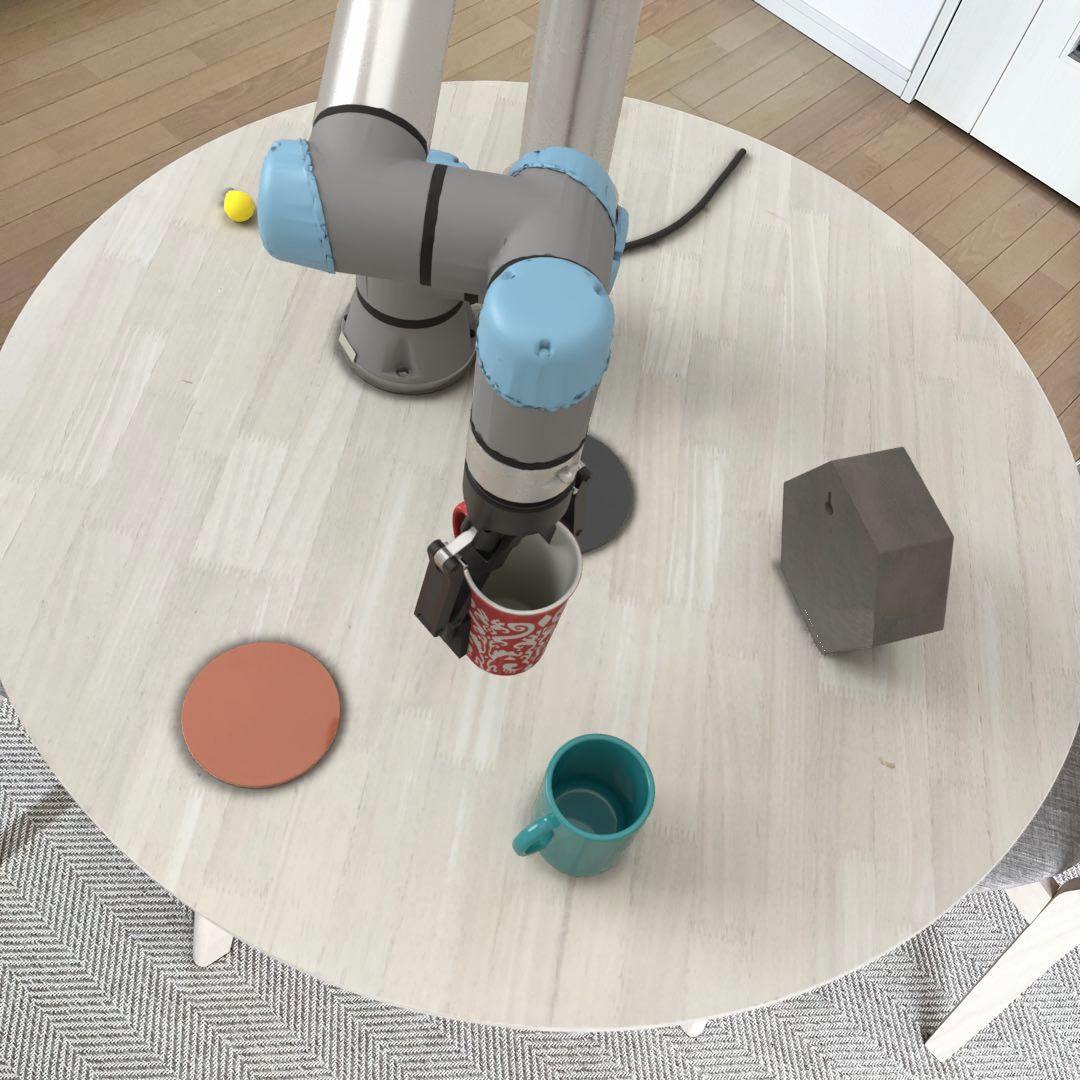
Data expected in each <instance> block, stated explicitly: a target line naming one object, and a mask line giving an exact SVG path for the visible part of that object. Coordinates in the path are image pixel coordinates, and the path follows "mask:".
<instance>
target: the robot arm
mask: <svg viewBox="0 0 1080 1080" xmlns="http://www.w3.org/2000/svg"><path fill="white" fill-rule="evenodd" d="M457 1H458V0H338V1H337V6H336V9H335V15H334V20H333V24H332V29H331V33H330V38H329V43H328V48H327V53H326V58H325V61H324V65H323V71H322V76H321V81H320V85H319V90H318V95H317V99H316V103H315V108H314V112H313V118H312V122H311V123H312V127H311V131H310V135H309V138H308V140H307V139H306V138H301V137H299V138H297V139H292V138H291V139H289V138H280V139H277V140H275V141H274V142H273V143H272V144H271V145H270V148H269V149H268V152H267V154H266V156H265V157H264V159H263V163H262V167H261V172H260V175H259V183H258V190H257V192H258V193H257V208H256V209H257V210H256V211H257V227H258V233H259V236H260V240H261V243H262V246H263V248H264V249H265V251H266V252H267V254H268V255H270V257H272V258H273V259H275V260H278V261H280V262H285V263H289V264H293V265H297V266H301V267H305V268H309V269H313V270H317V271H321V272H324V273H328V274H331V275H335V274H336V273H342V274H348V275H353V276H354V275H355V288H354V290H353V293H352V295H351V297H350V300H349V302H348V304H347V306H346V308H345V310H344V312H343V314H342V318H341V321H340V327H339V328H340V330H339V333H340V335H339V337H338V342H339V343H340V348H341V351H342V354H343V357H344V359H345V362H346V363H347V364H348V366H349V368H351V369H352V371H353V372H354V373H355V374H356V375H357V376H358V377H360V378H361V379H362V380H363V381H365V382H367V383H368V384H370V385H372V386H374V387H376V388H377V389H381V390H383V391H387V392H391V393H396V394H401V395H421V394H422V395H423V394H429V393H433V392H436V391H441V390H443V389H445V388H447V387H450V386H452V385H453V384H454V383H456V382H457V381H459V380H460V379H461V378H462V377H463V376H464V375H466V374H467V372H468V371H469V370H470V369H471V367H472V365H473V364H474V361H475V364H474V377H473V378H474V379H473V392H472V393H473V394H472V402H471V406H470V411H469V422H468V427H467V428H468V429H467V436H466V445H465V454H464V455H465V456H464V465H463V466H464V467H463V474H462V475H463V476H462V485H461V486H462V488H461V489H462V495H463V501H465V504H466V508H467V516H466V518H465V519H464V521H463V523H462V525H461V534H460V535H459V536H458V537H456V538H455V537H454V539H452V540H451V541H450V542H449V541H444V542H443V541H442V540H441V539H440V538H438V539H435V540H433V541H432V542H431V543H430V544H429V545H428V547H427V548H426V552H427V556H428V564H427V567H426V570H425V574H424V577H423V581H422V584H421V587H420V592H419V594H418V596H417V601H416V603H415V607H414V612H413V615H414V616H415V617H416V619H418V621H419V622H420V623H421V624H422V626H424V628H425V629H426V630H427V631H428V632H429V634H430V635H431V636H432V637H433V638H440V639H441V640H442V641H443V642H444V643H445V645H446V646H448V648H449V649H450V650H451V651H452V652H453V654H455V656H456V657H457V658H458V659H459V660H461V659H462V658H463V657H465V656H467V655H466V654H467V649H468V642H469V635H470V628H471V618H470V616H469V615H468V611H469V610H470V608H471V596H472V592H471V589H470V587H469V585H468V583H467V581H466V578H465V576H464V570H466V569H468V571H469V573H470V576H471V578H472V580H473V582H474V584H475V585H476V587H477V588H478V589H479V590H480V591H481V589H482V587H483V586H484V584H485V582H486V580H487V579H488V577H489V575H490V574H491V572H492V571H494V570H496V569H498V568H501V567H502V565H503V564H504V562H505V560H506V559H507V557H508V555H509V554H510V552H511V550H512V548H514V547H516V546H518V545H519V543H520V541H521V540H522V538H524V537H526V536H528V535H534V534H537V533H539V534H540V535H541V536H542V538H543V539H544V540H545V541H546V542H547V543H548V544H549V545H550V542H551V539H552V537H553V535H554V532H555V531H556V529H557V528H556V525H555V524H556V523H557V522H558V521H560V522H561V523H562V524H564V525H565V526H566V527H567V528H568V529H569V531H570V532H571V533H572V534H573V536H574V537H575V538H577V537H578V536H580V535H581V534H582V533H583V531H584V530H585V516H586V498H587V489H588V486H589V484H590V482H591V480H592V477H593V475H594V473H593V472H592V471H591V470H590V469H589V468H588V467H587V466H586V465H585V464H584V463H583V462H582V461H581V460H580V458H581V454H582V450H583V445H584V442H585V439H586V436H587V435H588V433H589V432H588V431H589V427H590V423H591V418H592V416H593V411H594V407H595V405H596V400H597V398H598V393H599V390H600V388H601V384H602V381H603V380H602V379H603V377H604V374H605V372H607V370H608V368H609V365H610V361H611V358H612V349H611V348H612V343H613V339H614V328H615V320H616V318H615V317H616V315H615V308H614V304H613V302H612V300H611V298H610V295H611V292H612V290H613V288H614V285H615V282H616V279H617V276H618V273H619V270H620V266H621V258H622V256H623V253H624V252H627V251H631V250H634V249H637V248H641V247H645V246H646V245H649V244H652V243H654V242H657V241H659V240H661V239H663V238H665V237H667V236H669V235H671V234H673V233H675V232H676V231H678V230H679V229H681V228H683V226H685V225H686V224H687V223H689V222H690V221H691V220H692V219H693V218H695V217H696V216H697V215H698V214H700V212H701V211H703V209H704V208H705V207H706V206H707V205H708V203H709V202H710V201H711V200H712V198H713V197H714V195H715V194H716V193H717V191H719V189H720V187H722V185H723V184H724V183H725V181H727V179H728V178H729V176H731V174H732V173H733V171H734V170H735V169H736V167H737V166H738V165H739V163H740V162H741V161H742V160H743V158H744V157H745V156H746V155H747V149H746V148H743V147H741V148H740V149H739V150H738V151H737V153H736V154H735V155H734V157H733V158H732V159H731V160H730V162H729V163H728V165H726V167H725V169H723V171H722V172H721V174H720V175H719V176H718V177H717V178H716V179H715V181H714V182H713V184H711V186H710V187H709V189H708V190H707V191H706V192H705V194H704V195H703V196H702V198H700V200H698V202H697V203H696V204H695V205H694V206H693V207H692V208H691V209H689V210H688V211H687V212H686V213H684V214H683V215H682V216H681V217H680V218H678V219H677V220H676V221H674V222H673V223H671V224H669V225H667V226H666V227H664V228H662V229H660V230H657V231H656V232H653V233H651V234H648V235H646V236H644V237H640V238H638V239H634V240H631V241H627V238H628V232H629V223H630V215H629V212H628V210H627V209H626V208H625V207H623V206H621V205H620V204H619V201H620V195H619V191H618V188H617V186H616V185H615V183H614V182H613V181H612V179H611V177H610V175H609V173H610V166H611V162H612V158H613V157H612V156H613V153H614V147H615V142H616V136H617V131H618V127H619V123H620V122H619V121H620V117H621V112H622V107H623V104H624V103H623V102H624V98H625V97H624V96H625V93H626V87H627V83H628V78H629V72H630V69H631V63H632V57H633V53H634V48H635V45H636V44H635V43H636V38H637V33H638V29H639V23H640V18H641V13H642V8H643V3H644V0H539V2H538V9H537V17H536V25H535V33H534V39H533V46H532V47H533V48H532V54H531V62H530V69H529V77H528V84H527V85H528V87H527V92H526V101H525V107H524V114H523V115H524V116H523V121H522V130H521V137H520V145H519V152H518V159H517V160H516V161H514V162H512V163H510V165H508V166H507V167H505V169H504V170H503V171H502V173H496V172H490V171H485V170H477V169H473V168H472V169H471V168H470V167H469V165H468V164H467V163H465V162H464V161H461V162H460V160H459V157H457V156H455V155H454V154H452V153H450V152H446V151H443V150H440V149H433V148H431V145H432V140H433V133H434V129H435V122H436V117H437V113H438V112H437V111H438V105H439V100H440V94H441V89H442V83H443V78H444V77H443V76H444V73H445V67H446V61H447V56H448V52H449V51H448V50H449V45H450V39H451V33H452V27H453V22H454V16H455V11H456V7H457ZM475 304H480V305H482V306H481V309H480V312H479V317H478V323H477V320H476V317H475V315H474V312H473V309H472V307H471V306H472V305H475Z"/></svg>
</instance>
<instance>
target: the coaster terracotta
mask: <svg viewBox="0 0 1080 1080" xmlns="http://www.w3.org/2000/svg"><path fill="white" fill-rule="evenodd" d="M340 720H341V699H340V695H339V691H338V688H337V685H336V683H335V681H334V678H333V677H332V675H331V673H330V672H329V670H328V669H327V668H326V666H325V665H323V663H321V661H320V660H318V659H317V658H316V657H315V656H313V654H310V653H309V652H307V651H305V650H303V649H301V648H299V647H296V646H294V645H290V644H287V643H282V642H276V641H275V642H274V641H260V642H257V641H256V642H252V643H251V642H250V643H246V644H243V645H239V646H236V647H233V648H231V649H229V650H227V651H225V652H223V653H221V654H220V655H217V656H216V657H215V658H214V659H212V660H211V661H210V662H208V663H207V665H205V666H204V667H203V668H202V669H201V670H200V671H199V673H198V674H197V675H196V677H194V679H193V681H192V682H191V684H190V685H189V687H188V690H187V692H186V694H185V698H184V700H183V703H182V709H181V722H180V723H181V724H180V725H181V731H182V736H183V739H184V742H185V746H186V747H187V749H188V751H189V753H190V755H191V757H192V758H193V759H194V761H195V762H196V763H197V764H198V765H199V767H200V768H201V769H203V770H204V771H205V772H206V773H208V774H209V775H211V776H212V777H214V778H215V779H217V780H219V781H221V782H224V783H225V784H229V785H232V786H235V787H241V788H246V789H247V788H250V789H260V788H261V789H263V788H270V787H275V786H279V785H282V784H285V783H288V782H290V781H291V782H292V781H293V780H295V779H297V778H299V777H300V776H302V775H304V774H305V773H307V772H308V771H309V770H311V769H312V768H313V767H315V765H317V763H319V761H320V760H321V759H322V758H323V757H324V756H325V755H326V753H327V752H328V750H329V749H330V747H332V743H333V742H334V740H335V738H336V736H337V732H338V730H339V725H340Z"/></svg>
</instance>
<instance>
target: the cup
mask: <svg viewBox="0 0 1080 1080" xmlns="http://www.w3.org/2000/svg"><path fill="white" fill-rule="evenodd" d="M655 799H656V783H655V778H654V774H653V772H652V770H651V767H650V765H649V763H648V761H647V760H646V759H645V757H644V756H643V754H641V753H640V751H639V750H638V749H637V748H635V746H633V745H632V744H630V743H629V742H628V741H626V740H624V739H622V738H619V737H617V736H614V735H611V734H606V733H586V734H583V735H578V736H576V737H574V738H572V739H569V740H568V741H566V742H565V743H563V744H562V745H561V746H560V747H559V748H558V749H557V750H556V751H555V752H554V754H553V755H552V757H551V758H550V761H549V762H548V765H547V767H546V771H545V773H544V775H543V779H542V782H541V784H540V787H539V790H538V792H537V795H536V798H535V801H534V803H533V804H534V805H533V807H532V810H531V814H530V824H529V825H527V826H526V827H524V828H523V829H522V830H521V831H520V832H519V833H517V835H516V836H515V837H514V838H513V839H512V842H511V845H512V849H513V852H514V853H515V855H517V856H518V857H521V858H524V857H528V856H531V855H534V854H536V853H539V854H540V856H541V857H542V858H543V860H544V861H546V863H548V865H550V866H551V867H552V868H554V869H555V870H557V871H559V872H560V873H563V874H565V875H569V876H573V877H583V878H586V877H594V876H598V875H601V874H603V873H606V872H607V871H609V870H611V869H613V867H615V866H616V865H617V864H618V863H619V862H620V861H621V860H622V859H623V857H624V856H625V854H626V853H627V851H628V850H629V848H630V847H631V845H632V843H633V842H634V840H635V839H636V837H637V836H638V834H639V832H640V831H641V829H643V826H644V825H645V823H646V822H647V820H648V819H649V817H650V816H651V813H652V811H653V808H654V805H655Z"/></svg>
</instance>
